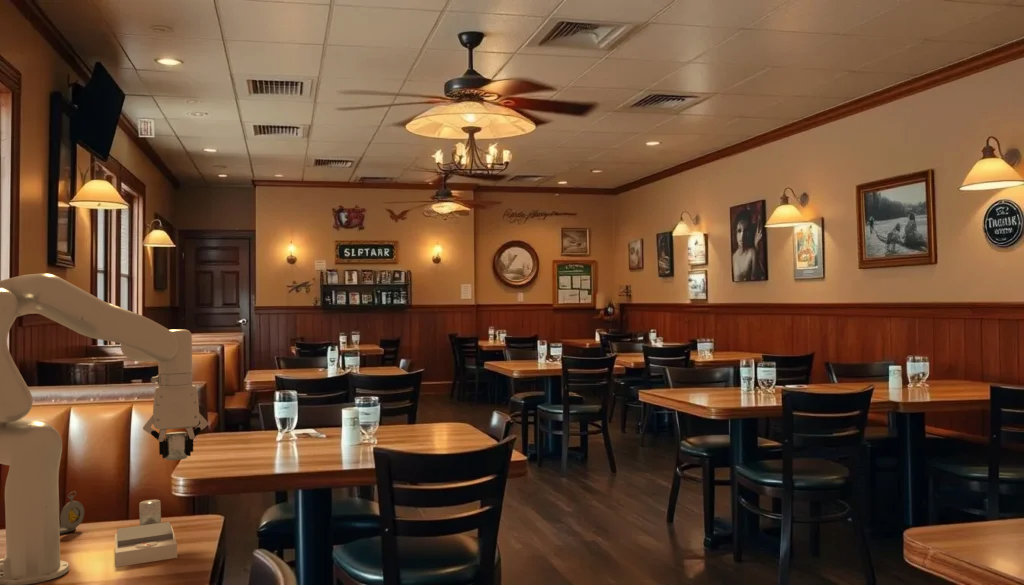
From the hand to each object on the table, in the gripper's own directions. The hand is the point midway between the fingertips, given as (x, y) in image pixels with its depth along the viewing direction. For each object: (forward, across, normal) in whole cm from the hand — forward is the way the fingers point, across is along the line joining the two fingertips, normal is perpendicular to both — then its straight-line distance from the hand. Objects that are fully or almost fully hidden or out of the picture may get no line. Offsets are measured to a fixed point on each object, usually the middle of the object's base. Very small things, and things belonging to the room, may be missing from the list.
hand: (176, 455), depth 195 cm
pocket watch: (+19, -24, +16) cm, 35 cm away
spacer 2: (+1, 0, 0) cm, 1 cm away
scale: (+19, -8, -13) cm, 24 cm away
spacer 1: (+19, -6, +10) cm, 22 cm away
